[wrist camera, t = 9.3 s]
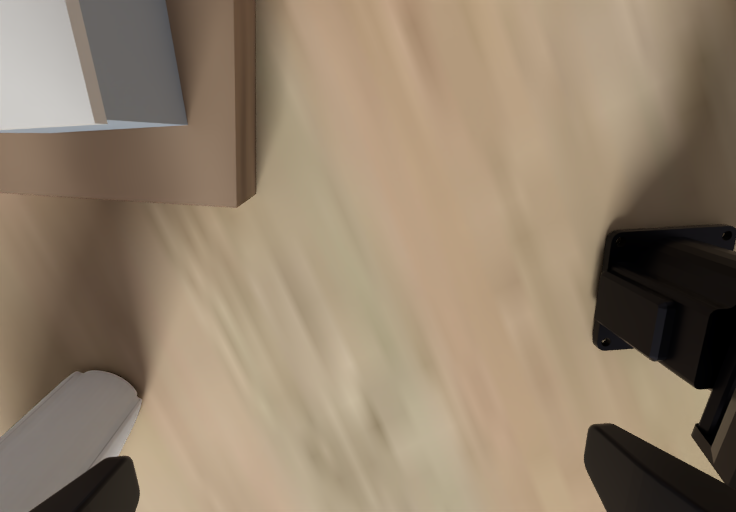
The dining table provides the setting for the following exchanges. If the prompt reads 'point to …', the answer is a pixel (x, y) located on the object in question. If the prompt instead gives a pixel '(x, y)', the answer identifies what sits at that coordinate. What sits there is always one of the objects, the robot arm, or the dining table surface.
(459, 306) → the dining table surface
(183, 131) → the walnut block
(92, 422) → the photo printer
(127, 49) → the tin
